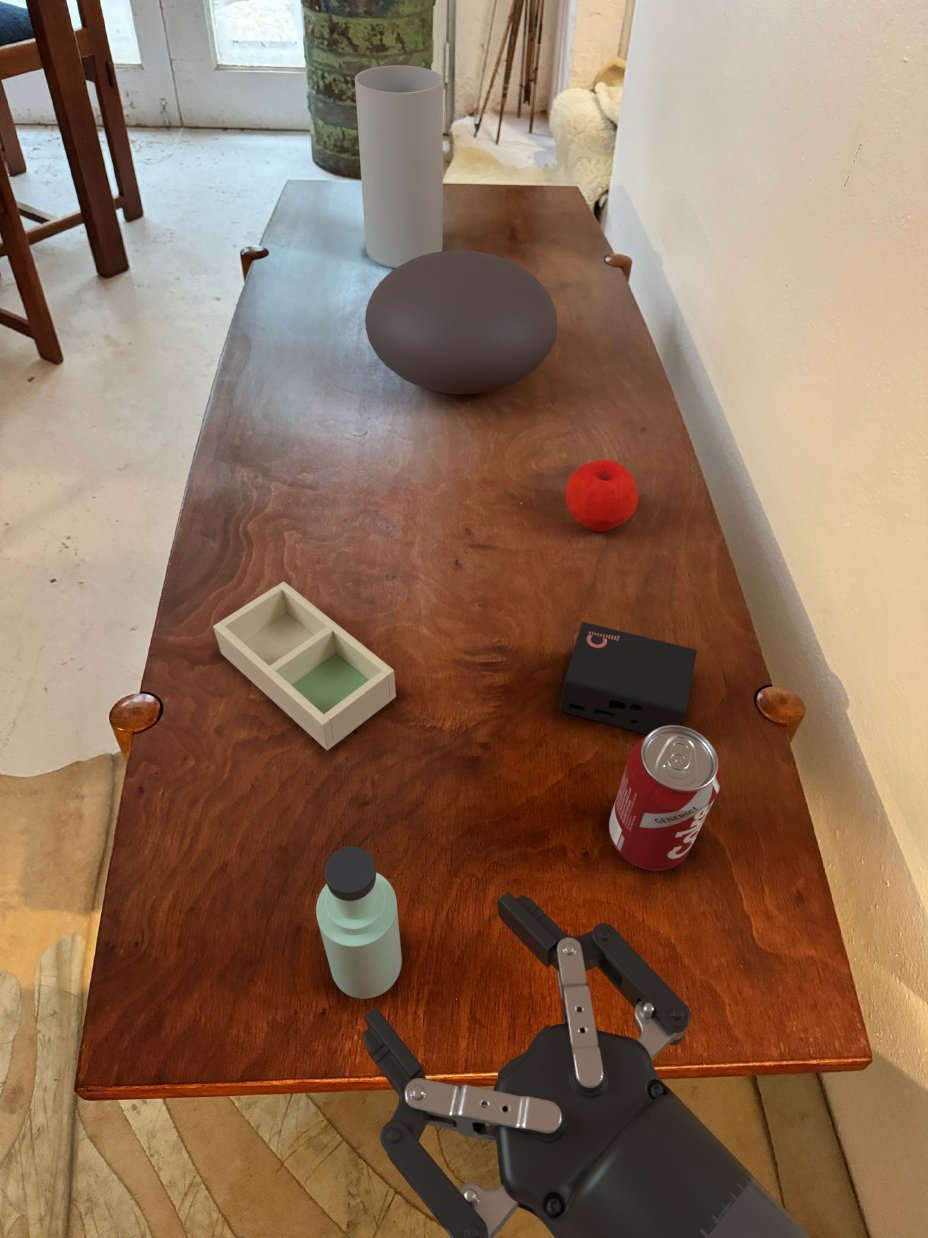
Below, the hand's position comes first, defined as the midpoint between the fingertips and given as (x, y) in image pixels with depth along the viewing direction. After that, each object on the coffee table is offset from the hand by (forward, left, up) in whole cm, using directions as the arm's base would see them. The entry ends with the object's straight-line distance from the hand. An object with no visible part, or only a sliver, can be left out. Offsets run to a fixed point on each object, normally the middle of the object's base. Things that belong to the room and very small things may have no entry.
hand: (439, 957), depth 42 cm
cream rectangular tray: (+15, +33, -20) cm, 42 cm away
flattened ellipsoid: (+63, +59, -21) cm, 89 cm away
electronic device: (+34, +10, -21) cm, 41 cm away
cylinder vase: (+82, +90, -21) cm, 124 cm away
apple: (+52, +27, -21) cm, 62 cm away
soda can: (+24, 0, -21) cm, 32 cm away
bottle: (+1, +9, -20) cm, 22 cm away
